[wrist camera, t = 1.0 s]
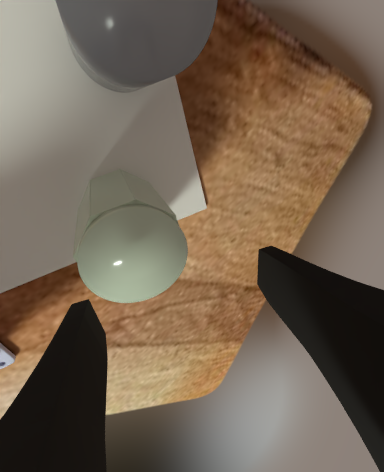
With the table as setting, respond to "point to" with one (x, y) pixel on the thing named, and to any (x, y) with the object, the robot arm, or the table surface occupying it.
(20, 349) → the table surface
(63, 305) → the table surface
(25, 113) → the grey mat
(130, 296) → the sage cup
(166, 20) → the grey pillar candle
